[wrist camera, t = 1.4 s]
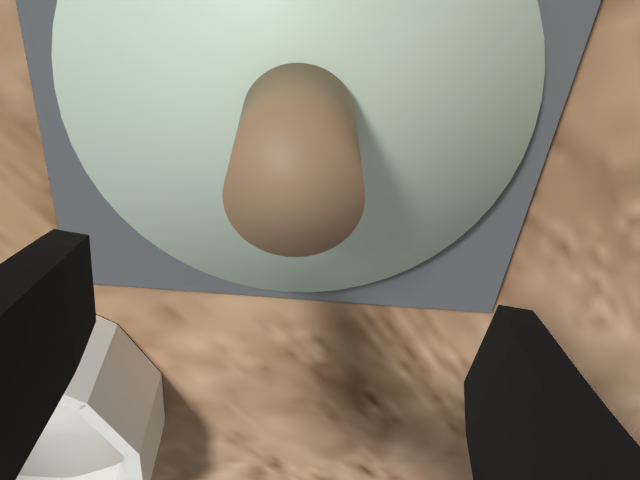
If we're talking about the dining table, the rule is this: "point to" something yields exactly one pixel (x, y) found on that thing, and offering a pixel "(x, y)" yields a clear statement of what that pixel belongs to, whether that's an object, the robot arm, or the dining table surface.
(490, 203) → the lid
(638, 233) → the dining table surface
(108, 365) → the bowl
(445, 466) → the dining table surface
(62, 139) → the mat
